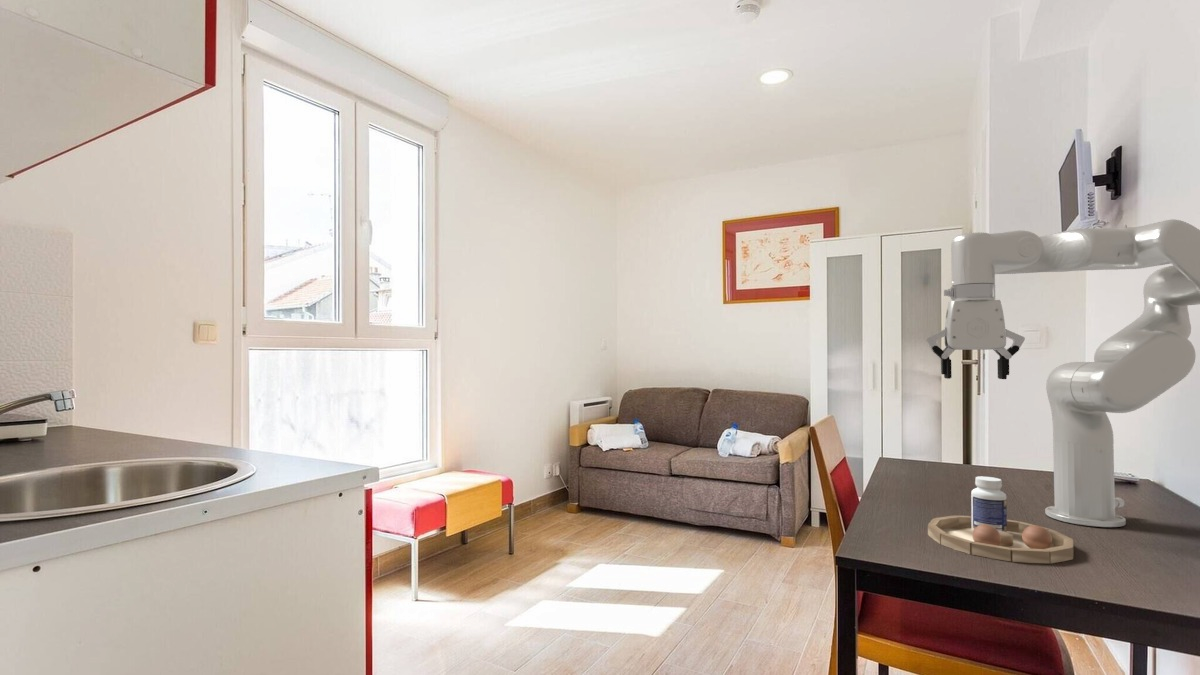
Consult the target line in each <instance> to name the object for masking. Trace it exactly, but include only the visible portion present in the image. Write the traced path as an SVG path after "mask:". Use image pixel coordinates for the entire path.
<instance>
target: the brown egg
mask: <svg viewBox="0 0 1200 675" xmlns="http://www.w3.org/2000/svg"><path fill="white" fill-rule="evenodd" d="M972 536H973V540H974V542H978V543H984V544H991V545H997V546H999V545H1000V543H1001V535H1000V533H999V532H998V530H997V529H995V528H994V527H992V526H990V525H986V524H983V525H979V526H977V527H976V528H975V529H974V530H973V534H972Z"/></svg>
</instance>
